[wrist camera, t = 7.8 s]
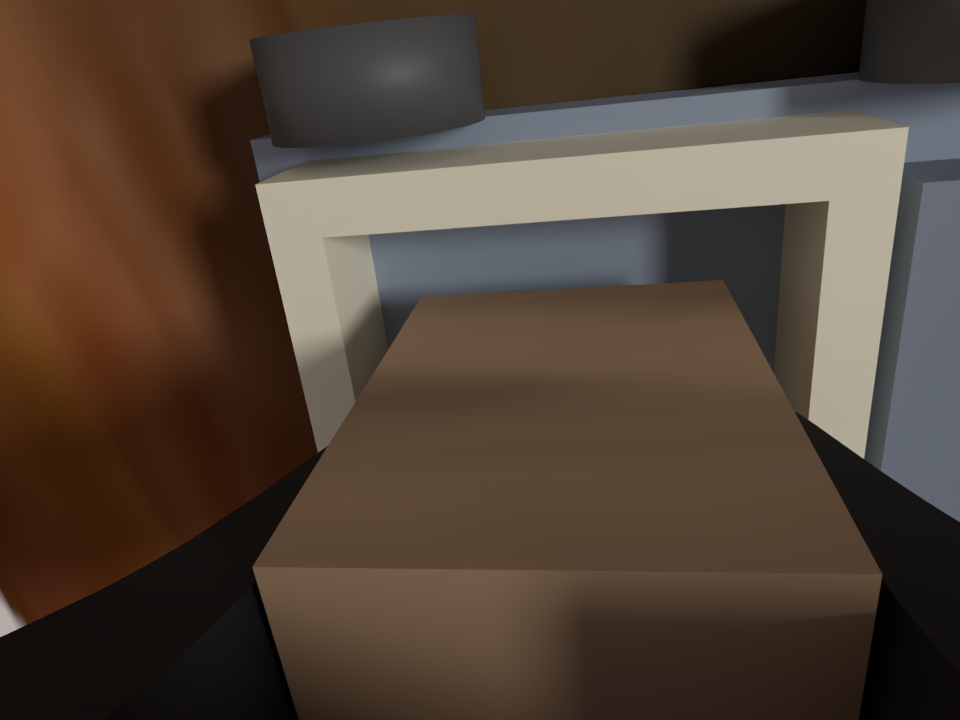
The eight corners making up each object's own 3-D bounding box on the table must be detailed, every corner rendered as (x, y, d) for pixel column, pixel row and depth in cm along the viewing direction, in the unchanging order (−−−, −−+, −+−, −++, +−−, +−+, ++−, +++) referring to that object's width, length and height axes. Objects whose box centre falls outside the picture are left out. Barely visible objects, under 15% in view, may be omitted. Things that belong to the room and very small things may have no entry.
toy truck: (982, 596, 14) (1080, 735, 12) (376, 586, 17) (332, 702, 14) (1139, -64, 10) (1373, -106, 7) (261, 44, 12) (157, 48, 9)
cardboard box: (714, 531, 12) (820, 954, 6) (456, 530, 12) (356, 908, 7) (723, 280, 10) (884, 574, 5) (421, 296, 11) (253, 566, 5)
